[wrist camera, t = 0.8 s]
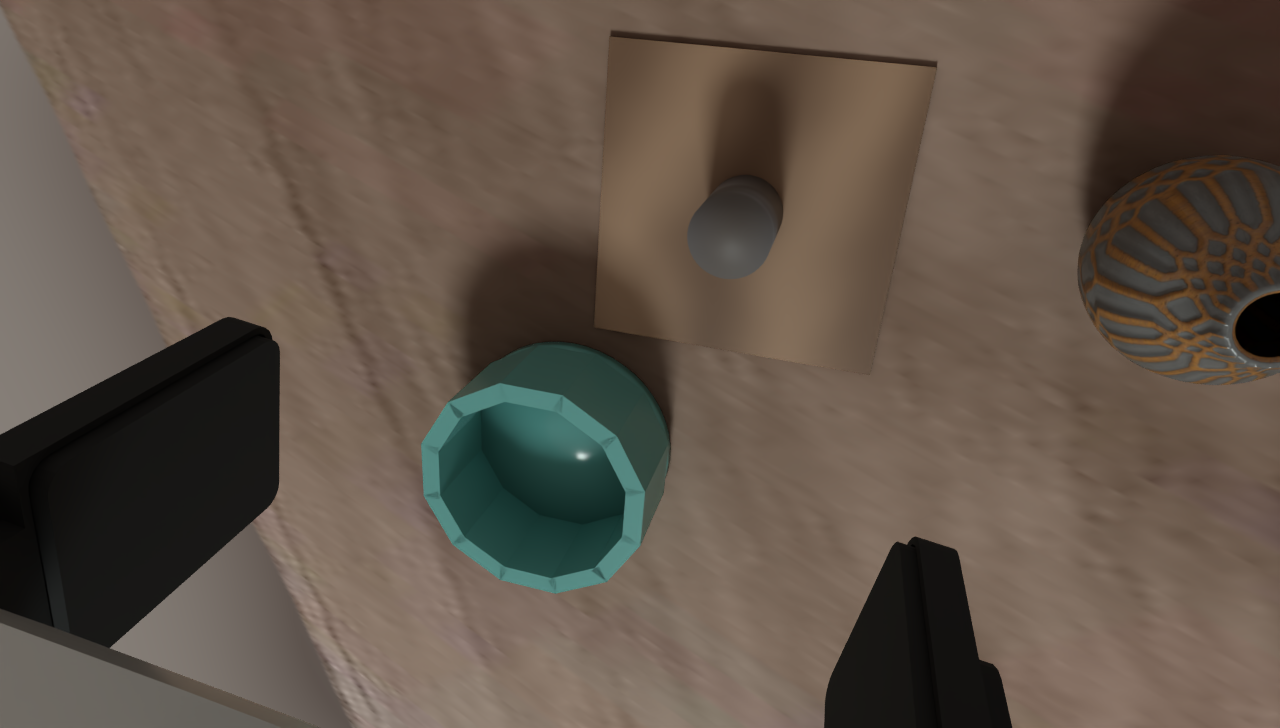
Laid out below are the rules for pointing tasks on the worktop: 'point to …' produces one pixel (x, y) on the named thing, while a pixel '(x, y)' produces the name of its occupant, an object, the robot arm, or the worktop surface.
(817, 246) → the lid
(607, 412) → the bowl
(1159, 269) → the vase
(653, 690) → the worktop surface
